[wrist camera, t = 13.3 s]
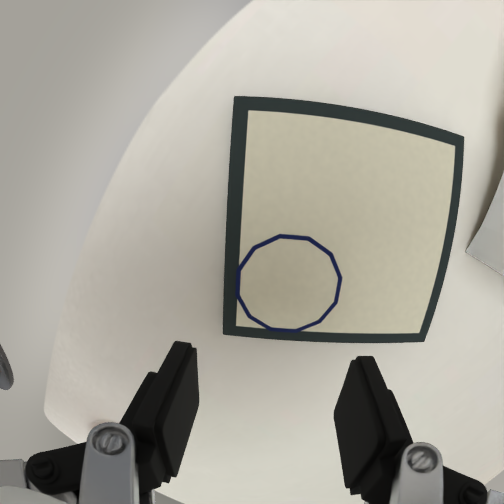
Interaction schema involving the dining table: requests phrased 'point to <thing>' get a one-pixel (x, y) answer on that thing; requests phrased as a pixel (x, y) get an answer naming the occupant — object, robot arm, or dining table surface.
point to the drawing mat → (336, 222)
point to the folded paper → (491, 234)
